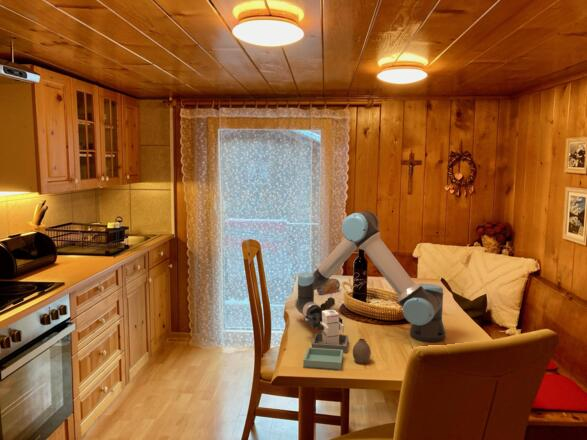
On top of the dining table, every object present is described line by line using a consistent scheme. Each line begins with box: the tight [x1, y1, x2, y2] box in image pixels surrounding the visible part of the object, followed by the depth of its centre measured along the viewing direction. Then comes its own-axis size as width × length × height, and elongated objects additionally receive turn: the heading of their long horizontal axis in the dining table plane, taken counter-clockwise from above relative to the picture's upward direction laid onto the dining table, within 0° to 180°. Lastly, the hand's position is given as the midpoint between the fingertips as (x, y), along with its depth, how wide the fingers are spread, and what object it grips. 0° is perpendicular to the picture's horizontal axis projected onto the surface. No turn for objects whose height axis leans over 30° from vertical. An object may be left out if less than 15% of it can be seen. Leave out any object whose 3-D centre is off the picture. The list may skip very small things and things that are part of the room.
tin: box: [316, 277, 341, 296], centre depth 277 cm, size 15×3×8 cm, turn 119°
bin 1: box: [311, 332, 349, 354], centre depth 200 cm, size 14×12×3 cm
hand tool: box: [320, 297, 336, 311], centre depth 249 cm, size 19×4×5 cm, turn 157°
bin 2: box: [302, 347, 344, 371], centre depth 184 cm, size 14×12×3 cm
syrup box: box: [321, 309, 340, 345], centre depth 199 cm, size 6×6×14 cm
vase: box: [352, 338, 372, 364], centre depth 185 cm, size 7×7×9 cm
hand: (335, 329), depth 194 cm, fingers closed on syrup box, 6 cm apart
